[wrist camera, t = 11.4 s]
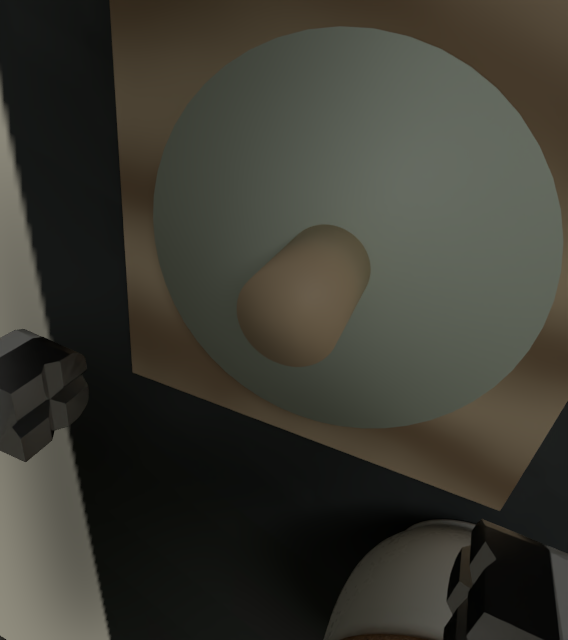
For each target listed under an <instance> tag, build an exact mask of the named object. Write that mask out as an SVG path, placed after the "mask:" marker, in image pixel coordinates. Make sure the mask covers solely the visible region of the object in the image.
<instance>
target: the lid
mask: <svg viewBox="0 0 568 640" xmlns="http://www.w3.org/2000/svg"><path fill="white" fill-rule="evenodd" d="M153 225H154V237H155V244H156V249H157V255H158V260H159V264H160V267H161V271H162V274H163V277H164V280H165V283H166V286H167V288H168V291H169V293H170V295H171V298H172V300H173V302H174V305H175V306H176V308H177V310H178V312H179V314H180V315H181V317H182V319H183V321H184V323H185V324H186V326H187V327H188V328H189V330H190V331H191V333H192V334H193V336H194V337H195V339H196V340H197V341H198V343H199V344H200V345H201V346H202V347H203V348H204V350H205V351H206V352H207V353H208V354H209V356H210V357H211V358H212V359H213V360H214V361H215V362H216V363H217V364H218V365H219V366H220V367H221V368H222V369H223V370H224V371H225V372H227V373H228V374H229V375H230V376H232V377H233V378H234V379H235V380H236V381H238V382H239V383H240V384H241V385H243V386H244V387H246V388H247V389H249V390H250V391H252V392H253V393H255V394H256V395H258V396H259V397H261V398H263V399H265V400H266V401H268V402H270V403H272V404H274V405H276V406H278V407H280V408H282V409H284V410H287V411H289V412H291V413H294V414H296V415H299V416H302V417H305V418H308V419H312V420H315V421H318V422H322V423H327V424H332V425H337V426H343V427H353V428H392V427H400V426H408V425H412V424H417V423H421V422H425V421H430V420H432V419H435V418H438V417H441V416H443V415H446V414H449V413H452V412H454V411H456V410H458V409H460V408H462V407H463V406H465V405H467V404H469V403H471V402H473V401H475V400H476V399H478V398H479V397H481V396H482V395H483V394H485V393H486V392H488V391H489V390H491V389H492V388H494V387H495V386H496V385H497V384H498V383H499V382H500V381H501V380H502V379H504V378H505V377H506V376H507V375H508V374H509V373H510V372H511V371H512V370H513V369H514V368H515V367H516V365H517V364H518V363H519V362H520V361H521V359H522V358H523V357H524V356H525V355H526V353H527V352H528V351H529V350H530V348H531V346H532V345H533V343H534V341H535V340H536V338H537V336H538V335H539V333H540V331H541V330H542V328H543V326H544V324H545V322H546V319H547V317H548V314H549V312H550V309H551V307H552V305H553V302H554V299H555V295H556V291H557V287H558V283H559V278H560V274H561V266H562V254H563V229H562V217H561V208H560V204H559V200H558V196H557V192H556V188H555V183H554V179H553V176H552V174H551V172H550V169H549V167H548V164H547V162H546V160H545V157H544V155H543V153H542V150H541V148H540V146H539V144H538V142H537V141H536V139H535V138H534V136H533V134H532V133H531V131H530V130H529V128H528V126H527V125H526V123H525V122H524V120H523V118H522V117H521V115H520V114H519V112H518V111H517V110H516V109H515V108H514V107H513V106H512V104H511V103H510V102H509V101H508V100H507V99H506V98H505V96H504V95H503V94H502V93H501V92H500V91H499V90H498V88H496V87H495V86H494V85H493V84H492V83H490V82H489V81H488V80H487V79H486V78H484V77H483V76H482V75H481V74H480V73H478V72H477V71H476V70H475V69H474V68H472V67H471V66H469V65H468V64H466V63H464V62H463V61H461V60H459V59H458V58H456V57H454V56H453V55H451V54H449V53H448V52H446V51H444V50H443V49H440V48H438V47H435V46H433V45H430V44H428V43H425V42H423V41H420V40H418V39H415V38H412V37H410V36H406V35H401V34H397V33H392V32H388V31H383V30H379V29H374V28H361V27H344V26H337V27H327V28H317V29H307V30H303V31H300V32H296V33H292V34H288V35H285V36H281V37H277V38H275V39H273V40H270V41H268V42H266V43H264V44H261V45H259V46H257V47H254V48H252V49H250V50H248V51H247V52H245V53H244V54H242V55H241V56H239V57H237V58H236V59H234V60H233V61H231V62H230V63H228V64H227V65H225V66H224V67H223V68H222V69H221V70H220V71H218V72H217V73H216V74H215V75H214V76H213V77H212V78H211V79H209V80H208V81H207V82H206V83H205V84H204V85H203V86H202V88H201V89H200V90H199V91H198V92H197V94H196V95H195V96H194V97H193V98H192V99H191V101H190V102H189V103H188V104H187V106H186V108H185V109H184V111H183V112H182V114H181V116H180V117H179V119H178V121H177V122H176V124H175V125H174V127H173V130H172V132H171V134H170V137H169V139H168V141H167V143H166V146H165V148H164V151H163V154H162V158H161V161H160V165H159V168H158V172H157V178H156V184H155V191H154V203H153Z"/></svg>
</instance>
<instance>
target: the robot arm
mask: <svg viewBox="0 0 568 640" xmlns="http://www.w3.org/2000/svg"><path fill="white" fill-rule="evenodd" d="M86 370H87V367H86V361H85V357H84V356H83V355H81V354H79V353H78V352H75V351H73V350H71V349H69V348H66V347H64V346H62V345H60V344H58V343H55V342H53V341H51V340H49V339H46V338H44V337H41V336H39V335H37V334H34V333H32V332H30V331H27V330H25V329H21V330H14V331H12V332H10V333H8V334H7V335H5V336H3V337H1V338H0V451H2V452H5V453H7V454H9V455H11V456H13V457H16V458H18V459H20V460H22V461H24V462H27V461H28V460H29V459H30V458H31V457H33V456H34V455H35V454H36V453H38V452H39V451H40V450H41V449H42V448H43V447H45V446H46V445H47V444H48V443H49V442H51V441H52V438H53V435H54V431H55V430H57V429H61V428H65V427H68V426H70V425H71V424H72V423H73V422H74V421H75V420H76V419H78V418H79V417H80V415H81V413H82V412H83V410H84V409H85V407H86V405H87V402H88V397H89V387H88V384H87V383H86V381H85V379H84V378H83V376H82V374H83V373H84V372H85V371H86ZM446 602H447V604H448V606H449V608H450V611H451V613H452V617H451V618H450V620H449V621H448V623H447V624H446V626H445V627H444V633H443V640H568V554H567V553H564V552H562V551H559V550H557V549H554V548H552V547H549V546H547V545H543V544H542V543H540V542H538V541H535V540H533V539H530V538H528V537H525V536H523V535H520V534H518V533H515V532H513V531H510V530H508V529H505V528H503V527H500V526H498V525H495V524H493V523H490V522H488V521H485V520H483V519H482V520H480V521H479V522H478V523H477V524H476V525H475V527H474V528H473V530H472V532H471V545H469V546H465V547H462V548H461V550H460V552H459V553H458V555H457V557H456V559H455V562H454V565H453V567H452V570H451V573H450V578H449V583H448V590H447V600H446ZM0 640H6V639H4V638H3V637H1V636H0Z"/></svg>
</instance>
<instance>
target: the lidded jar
mask: <svg viewBox="0 0 568 640" xmlns="http://www.w3.org/2000/svg"><path fill="white" fill-rule="evenodd" d="M475 525H476V524H473V523H469V522H465V521H460V520H453V519H432V520H426V521H422V522H419V523H416V524H414V525H412V526H410V527H408V528H407V529H406V530H405V531H403V532H400V533H397V534H395V535H393V536H391V537H389V538H387V539H385V540H383V541H382V542H380V543H379V544H378V545H377V546H375V547H374V548H373V549H372V550H370V551H369V552H368V553H367V554H366V555H365V556H364V557H363V558H362V560H361V561H360V562H359V563H358V564H357V566H356V567H355V568H354V570H353V571H352V573H351V575H350V576H349V578H348V580H347V582H346V583H345V585H344V587H343V589H342V590H341V593H340V595H339V597H338V600H337V602H336V604H335V607H334V609H333V612H332V615H331V618H330V621H329V624H328V627H327V630H326V633H325V637H324V640H443V633H444V627H445V626H446V624H447V623H448V621H449V620H450V618H451V617H452V613H451V611H450V608H449V606H448V604H447V602H446V600H447V590H448V583H449V578H450V573H451V570H452V567H453V565H454V562H455V559H456V557H457V555H458V553H459V552H460V550H461V548H462V547H465V546H469V545H471V532H472V530H473V528H474V527H475Z"/></svg>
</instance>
